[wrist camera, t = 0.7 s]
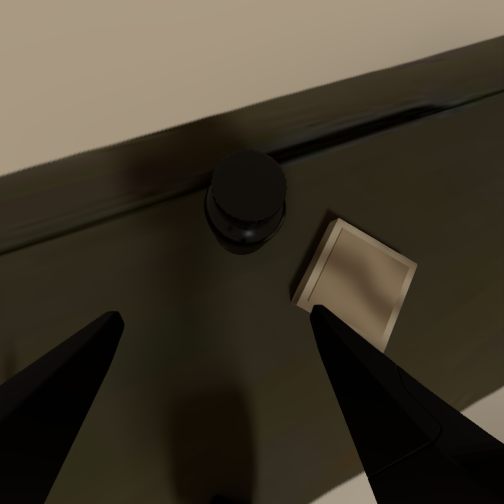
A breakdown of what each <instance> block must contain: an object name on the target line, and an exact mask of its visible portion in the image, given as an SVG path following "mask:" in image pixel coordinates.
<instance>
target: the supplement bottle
mask: <svg viewBox="0 0 504 504" xmlns="http://www.w3.org/2000/svg"><path fill="white" fill-rule="evenodd" d="M212 177H213V178H212V180H211V184H210V185H209V187H208V189H207V192H206V195H205V199H204V211H205V216H206V219H207V222H208V224H209V226H210V228H211V230H212V232H213V233H214V235H215V237H216V239H217V241H218V242H219V243H220V245H221V246H222V247H223V248H224V249H226V250H227V251H229V252H231V253H234V254H238V255H246V254H250V253H253V252H255V251H257V250H258V249H260V248H261V247H262V246H263V245H264V244H265V243H267V242H268V241H269V240H270V239H271V238H272V237H273V236H274V235H275V234H276V233H277V232H278V231H279V229H280V228H281V226H282V224H283V221H284V218H285V213H286V202H285V197H286V189H287V187H286V179H285V174H284V173H283V172H282V169H281V167H280V166H278V163H277V162H276V161H274V160H273V158H272V157H270V156H268V155H267V154H266V153H261V152H260V151H254V150H252V149H250V150H246V149H243V150H241V151H240V150H237V151H235V152H232V153H230V154H229V155H227V156H224V158H223V160H221V161H219V164H218V165H217V166H216V167H215V171H214V173H213V174H212Z"/></svg>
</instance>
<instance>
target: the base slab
mask: <svg viewBox="0 0 504 504" xmlns="http://www.w3.org/2000/svg"><path fill="white" fill-rule="evenodd" d="M417 265H418V264H416V263H414V262H412V261H411V260H409V259H407V258H406V257H404V256H402V255H401V254H399V253H397V252H396V251H394V250H392V249H390V248H389V247H387V246H385V245H384V244H382V243H380V242H379V241H377V240H375V239H374V238H372V237H370V236H368V235H367V234H365V233H363V232H362V231H360V230H358V229H357V228H355V227H353V226H352V225H350V224H348V223H346V222H345V221H343V220H341V219H340V218H338V219H336V220H334V221H332V222H330V223H329V225H328V227H327V229H326V231H325V233H324V235H323V237H322V239H321V242H320V244H319V246H318V248H317V250H316V252H315V254H314V256H313V258H312V260H311V262H310V264H309V266H308V268H307V270H306V272H305V274H304V276H303V278H302V280H301V282H300V284H299V286H298V288H297V290H296V292H295V294H294V296H293V298H292V300H291V302H292V303H294V304H295V305H297V306H299V307H301V308H303V309H304V310H306V311H308V312H310V313H311V311H312V308H313V306H314V305H316V304H322V305H324V306H325V307H326V308H327V309H329V310H330V311H331V312H332V313H334V314H335V315H336V316H337V317H339V318H340V319H341V320H342V321H344V322H345V323H346V324H347V325H348V326H350V327H351V328H352V329H353V330H355V331H356V332H357V333H358V334H360V335H361V336H362V337H363V338H365V339H366V340H367V341H368V342H369V343H371V344H372V345H373V346H374V347H376V348H377V349H378V350H379V351H381V352H382V353H384V350H385V347H386V345H387V342H388V340H389V337H390V335H391V332H392V329H393V327H394V324H395V322H396V319H397V316H398V314H399V311H400V309H401V306H402V303H403V301H404V298H405V296H406V293H407V291H408V288H409V285H410V283H411V280H412V278H413V275H414V272H415V270H416V267H417Z"/></svg>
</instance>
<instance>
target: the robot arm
mask: <svg viewBox="0 0 504 504" xmlns="http://www.w3.org/2000/svg"><path fill="white" fill-rule="evenodd" d="M310 322H311V325H312V329H313V332H314V336H315V340H316V343H317V347H318V350H319V353H320V356H321V359H322V361H323V364H324V366H325V369H326V371H327V374H328V377H329V379H330V382H331V384H332V387H333V390H334V392H335V395H336V397H337V400H338V403H339V405H340V408H341V410H342V413H343V416H344V418H345V421H346V423H347V426H348V428H349V431H350V434H351V436H352V439H353V441H354V444H355V447H356V449H357V452H358V454H359V457H360V460H361V462H362V465H363V467H364V470H365V473H366V475H367V477H368V481H369V483H370V486H371V488H372V491H373V494H374V496H375V499H376V501H377V504H504V444H503V443H502V442H500V441H499V440H497V439H496V438H494V437H493V436H492V435H490V434H489V433H487V432H486V431H484V430H483V429H482V428H480V427H479V426H478V425H476V424H475V423H474V422H472V421H471V420H469V419H468V418H467V417H465V416H464V415H463V414H461V413H460V412H458V411H457V410H456V409H454V408H453V407H452V406H450V405H449V404H447V403H446V402H445V401H443V400H442V399H441V398H439V397H438V396H437V395H435V394H434V393H433V392H431V391H430V390H428V389H427V388H426V387H424V386H423V385H422V384H421V383H419V382H418V381H417V380H416V379H414V378H413V377H412V376H410V375H409V374H408V373H407V372H405V371H404V370H403V369H402V368H400V367H399V366H398V365H396V364H395V363H394V362H393V361H392V360H390V359H389V358H388V357H387V356H386V355H384V354H383V353H382V352H381V351H379V350H378V349H377V348H376V347H374V346H373V345H372V344H371V343H369V342H368V341H367V340H366V339H365V338H363V337H362V336H361V335H360V334H358V333H357V332H356V331H355V330H353V329H352V328H351V327H350V326H348V325H347V324H346V323H345V322H344V321H342V320H341V319H340V318H339V317H337V316H336V315H335V314H334V313H332V312H331V311H330V310H329V309H327V308H326V307H325V306H324V305H322V304H316V305H314V306H313V308H312V311H311V314H310ZM123 330H124V322H123V319H122V317H121V315H120V313H119V312H118V311H109V312H106V313H104V314H103V315H101V316H100V317H99V318H97V319H96V320H94V321H93V322H91V323H90V324H88V325H87V326H86V327H84V328H83V329H81V330H80V331H78V332H77V333H75V334H74V335H72V336H71V337H70V338H68V339H67V340H65V341H64V342H62V343H61V344H59V345H58V346H57V347H55V348H54V349H52V350H51V351H49V352H48V353H46V354H45V355H44V356H42V357H41V358H39V359H38V360H36V361H35V362H33V363H32V364H31V365H29V366H28V367H26V368H25V369H23V370H22V371H20V372H19V373H17V374H16V375H15V376H13V377H12V378H10V379H9V380H7V381H6V382H4V383H3V384H2V385H0V504H44V502H45V500H46V498H47V496H48V494H49V492H50V490H51V488H52V486H53V484H54V482H55V480H56V478H57V475H58V473H59V471H60V469H61V467H62V465H63V463H64V461H65V459H66V457H67V455H68V453H69V450H70V448H71V446H72V444H73V442H74V440H75V438H76V436H77V434H78V432H79V430H80V428H81V425H82V423H83V421H84V419H85V417H86V415H87V413H88V411H89V409H90V407H91V405H92V403H93V400H94V398H95V396H96V394H97V392H98V390H99V388H100V386H101V384H102V382H103V380H104V378H105V376H106V373H107V371H108V369H109V367H110V365H111V362H112V360H113V357H114V354H115V352H116V349H117V346H118V343H119V341H120V338H121V335H122V332H123ZM215 503H217V504H235V503H232V502H230V501H228V500H226V499H224V498H222V497H220V496H215V497H214V498H213V499H212V501H211V503H210V504H215Z"/></svg>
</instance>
